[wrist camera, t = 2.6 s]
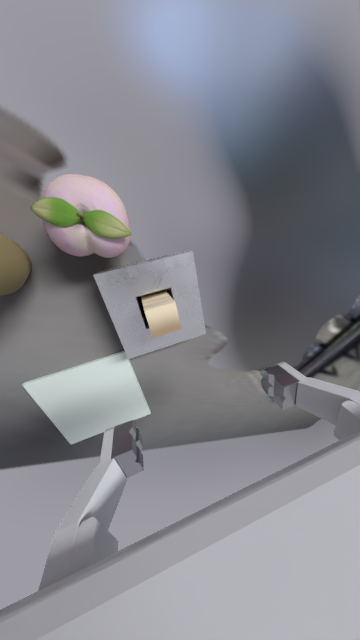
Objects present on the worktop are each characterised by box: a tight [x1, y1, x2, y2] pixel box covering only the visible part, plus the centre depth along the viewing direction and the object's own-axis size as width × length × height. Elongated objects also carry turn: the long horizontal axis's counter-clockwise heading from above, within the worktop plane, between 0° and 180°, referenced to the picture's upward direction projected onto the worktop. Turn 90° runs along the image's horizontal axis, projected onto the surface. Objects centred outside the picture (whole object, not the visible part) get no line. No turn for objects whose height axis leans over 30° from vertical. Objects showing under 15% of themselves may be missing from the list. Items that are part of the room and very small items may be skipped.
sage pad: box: [22, 351, 151, 445], centre depth 35 cm, size 18×18×1 cm
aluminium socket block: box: [93, 251, 206, 359], centre depth 28 cm, size 14×14×5 cm
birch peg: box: [141, 290, 181, 338], centre depth 26 cm, size 4×4×10 cm
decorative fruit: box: [30, 174, 131, 258], centre depth 20 cm, size 9×8×10 cm
